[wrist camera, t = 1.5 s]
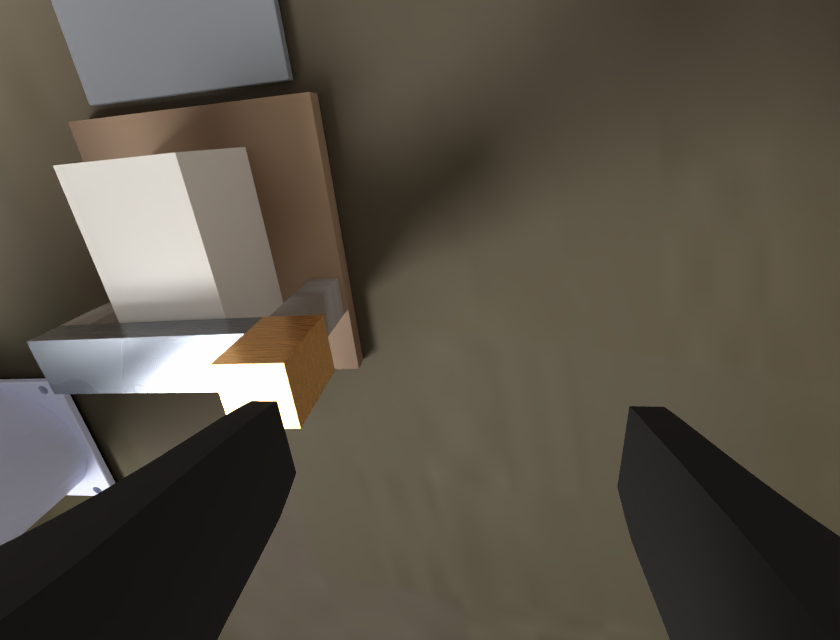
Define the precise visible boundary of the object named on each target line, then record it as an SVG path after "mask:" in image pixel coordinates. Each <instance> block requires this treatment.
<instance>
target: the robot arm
mask: <svg viewBox="0 0 840 640" xmlns="http://www.w3.org/2000/svg"><path fill="white" fill-rule="evenodd" d="M295 475H296V471H295V467H294V463H293V459H292V455H291V452H290V448H289V444H288V440H287V437H286V433H285V429H284V425H283V422H282V418H281V414H280V410H279V407H278V403H277V401H250V402H248V403H246V404H244V405H242V406H240V407H239V408H237V409H235V410H234V411H232V412H230V413H228V414H227V415H225V416H224V417H222V418H220V419H219V420H217V421H215V422H214V423H212V424H211V425H209V426H208V427H206V428H204V429H203V430H201V431H200V432H198V433H196V434H195V435H193V436H192V437H190V438H189V439H187V440H185V441H184V442H182V443H181V444H179V445H177V446H176V447H174V448H173V449H171V450H169V451H168V452H166V453H165V454H163V455H162V456H160V457H158V458H157V459H155V460H154V461H152V462H150V463H149V464H147V465H145V466H144V467H142V468H140V469H139V470H137V471H135V472H133V473H132V474H130V475H128V476H127V477H125V478H123V479H122V480H120V481H118V482H117V483H115V481H114V479H113V477H112V475H111V473H110V471H109V469H108V468H107V466H106V464H105V462H104V460H103V458H102V456H101V454H100V452H99V450H98V448H97V446H96V444H95V442H94V440H93V438H92V436H91V434H90V432H89V430H88V428H87V427H86V425H85V423H84V421H83V419H82V417H81V415H80V413H79V411H78V409H77V407H76V405H75V403H74V401H73V399H72V397H71V395H70V394H54V393H53V391H52V389H51V387H50V385H49V383H48V382H47V380H46V378H42V379H0V640H217V639H218V637H219V635H220V633H221V631H222V629H223V627H224V625H225V623H226V621H227V619H228V617H229V615H230V613H231V611H232V609H233V608H234V606H235V604H236V602H237V600H238V598H239V596H240V594H241V592H242V590H243V588H244V586H245V585H246V583H247V581H248V579H249V577H250V575H251V573H252V571H253V569H254V567H255V565H256V563H257V561H258V560H259V558H260V556H261V554H262V552H263V550H264V548H265V546H266V544H267V542H268V540H269V538H270V536H271V534H272V532H273V530H274V528H275V526H276V524H277V522H278V520H279V518H280V516H281V513H282V511H283V508H284V505H285V503H286V500H287V498H288V495H289V492H290V489H291V486H292V483H293V480H294V478H295ZM618 491H619V495H620V499H621V503H622V507H623V511H624V515H625V519H626V522H627V526H628V530H629V533H630V537H631V540H632V543H633V546H634V548H635V551H636V554H637V556H638V559H639V561H640V564H641V566H642V569H643V572H644V574H645V577H646V579H647V582H648V585H649V587H650V590H651V592H652V595H653V597H654V600H655V602H656V605H657V607H658V610H659V612H660V615H661V618H662V620H663V623H664V625H665V628H666V630H667V633H668V635H669V638H670V640H840V537H839V536H838V535H836V534H835V533H834V532H832V531H831V530H829V529H828V528H826V527H825V526H823V525H822V524H821V523H819V522H818V521H816V520H815V519H813V518H812V517H810V516H809V515H807V514H806V513H805V512H803V511H802V510H801V509H799V508H798V507H796V506H795V505H794V504H792V503H791V502H789V501H788V500H787V499H785V498H784V497H782V496H781V495H780V494H778V493H777V492H776V491H774V490H773V489H772V488H770V487H769V486H767V485H766V484H765V483H763V482H762V481H761V480H759V479H758V478H757V477H755V476H754V475H753V474H751V473H750V472H749V471H747V470H746V469H745V468H743V467H742V466H741V465H740V464H738V463H737V462H736V461H734V460H733V459H732V458H730V457H729V456H728V455H726V454H725V453H724V452H723V451H721V450H720V449H719V448H717V447H716V446H715V445H714V444H712V443H711V442H710V441H708V440H707V439H706V438H705V437H703V436H702V435H701V434H699V433H698V432H697V431H696V430H694V429H693V428H692V427H690V426H689V425H688V424H687V423H685V422H684V421H683V420H681V419H680V418H679V417H677V416H676V415H675V414H673V413H672V412H671V411H669V410H668V409H666V408H665V407H636V406H630V407H629V413H628V420H627V427H626V433H625V440H624V447H623V453H622V460H621V467H620V474H619V480H618ZM65 495H86V496H93V497H91V498H90V499H88V500H86V501H84V502H82V503H81V504H79V505H77V506H75V507H73V508H72V509H70V510H68V511H66V512H64V513H62V514H60V515H59V516H57V517H55V518H53V519H51V520H49V521H47V522H45V523H43V524H41V525H40V526H38V527H36V528H34V529H32V530H30V531H28V532H26V533H24V532H25V531H26V530H27V529H29V528H30V527H31V526H32V525H33V524H34V523H35V522H36V521H37V520H39V519H40V518H41V517H42V516H43V515H44V514H45V513H46V512H48V511H49V510H50V509H51V508H52V507H53V506H54V505H55V504H56V503H58V502H59V501H60V500H61V499H62V498H63V497H64V496H65ZM23 533H24V534H23Z"/></svg>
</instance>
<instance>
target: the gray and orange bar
mask: <svg viewBox="0 0 840 640" xmlns="http://www.w3.org/2000/svg"><path fill="white" fill-rule="evenodd" d="M26 342H27V344H28V346H29V348H30V349H31V351H32V353H33V355H34V357H35V359H36V361H37V363H38V365H39V366H40V368H41V370H42V372H43V374H44V376H45V378H46V380H47V382H48V383H49V385H50V387H51V389H52V391H53V393H54V394H108V393H179V392H219V395H220V398H221V401H222V403H223V406H224V409H225V412H226V415H227V414H228V413H230V412H232V411H234V410H235V409H237V408H239V407H240V406H242V405H244V404H246V403H248V402H250V401H277V403H278V407H279V410H280V414H281V418H282V422H283V425H284V429H301V427H302V426H303V424H304V422H305V420H306V419H307V417H308V415H309V414H310V412H311V410H312V408H313V407H314V405H315V403H316V401H317V400H318V398H319V396H320V395H321V393H322V391H323V389H324V388H325V386H326V384H327V383H328V381H329V379H330V377H331V376H332V374H333V372H334V371H335V368H334V363H333V358H332V354H331V349H330V344H329V339H328V334H327V329H326V324H325V319H324V314H321V315H298V316H274V317H250V318H227V319H203V320H179V321H155V322H132V323H108V324H84V325H61V326H58V327H56V328H54V329H52V330H49V331H47V332H45V333H43V334H41V335H39V336H37V337H35V338H33V339H30V340H28V341H26Z"/></svg>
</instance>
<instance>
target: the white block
mask: <svg viewBox="0 0 840 640" xmlns="http://www.w3.org/2000/svg"><path fill="white" fill-rule="evenodd" d="M53 167H54V169H55V172H56V174H57V176H58V179H59V181H60V184H61V186H62V188H63V191H64V193H65V195H66V198H67V200H68V203H69V205H70V207H71V210H72V212H73V214H74V217H75V219H76V221H77V224H78V226H79V229H80V231H81V233H82V236H83V238H84V240H85V243H86V245H87V248H88V250H89V252H90V255H91V257H92V259H93V262H94V264H95V266H96V269H97V271H98V274H99V276H100V278H101V281H102V283H103V285H104V288H105V290H106V293H107V295H108V297H109V300H110V302H111V304H112V307H113V309H114V312H115V314H116V316H117V319H118V321H119V323H132V322H155V321H179V320H203V319H227V318H250V317H269V316H270V315H271V314H272V313H273V312H274V311H276V310H277V309H278V308H279V307H280V306H281V305H282V304H283V299H282V295H281V291H280V287H279V283H278V279H277V275H276V271H275V266H274V262H273V258H272V254H271V250H270V246H269V242H268V238H267V234H266V230H265V225H264V221H263V217H262V213H261V209H260V205H259V201H258V197H257V193H256V189H255V185H254V180H253V176H252V172H251V168H250V164H249V160H248V156H247V152H246V148H245V147H238V148H225V149H212V150H200V151H187V152H175V153H165V154H156V155H147V156H137V157H128V158H119V159H110V160H100V161H91V162H82V163H73V164H63V165H54V166H53ZM179 393H196V392H179Z"/></svg>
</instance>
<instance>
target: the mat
mask: <svg viewBox="0 0 840 640" xmlns="http://www.w3.org/2000/svg"><path fill="white" fill-rule="evenodd" d="M51 2H52V5H53V7H54V10H55V13H56V15H57V18H58V21H59V24H60V26H61V29H62V32H63V34H64V37H65V40H66V43H67V45H68V48H69V51H70V53H71V56H72V59H73V62H74V64H75V67H76V70H77V72H78V75H79V78H80V81H81V83H82V86H83V89H84V91H85V94H86V97H87V99H88V102H89V105H92V106H101V105H109V104H116V103H124V102H132V101H139V100H147V99H155V98H163V97H170V96H178V95H186V94H193V93H201V92H209V91H216V90H224V89H232V88H239V87H247V86H255V85H262V84H270V83H278V82H286V81H293V76H292V70H291V65H290V60H289V55H288V49H287V44H286V39H285V34H284V28H283V23H282V18H281V12H280V7H279V2H278V0H51Z"/></svg>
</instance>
